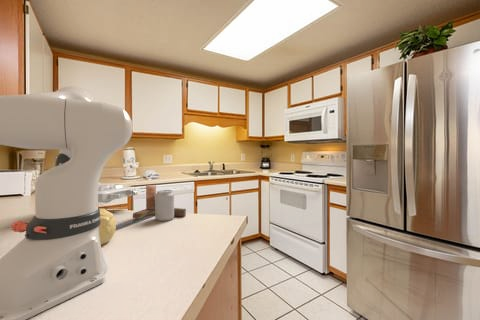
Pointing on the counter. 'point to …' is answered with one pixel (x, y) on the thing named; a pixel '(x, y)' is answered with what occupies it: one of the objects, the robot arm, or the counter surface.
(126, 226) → the rail
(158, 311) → the counter surface
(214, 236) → the counter surface
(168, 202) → the can
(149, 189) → the brown wooden stand
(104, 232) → the pale yellow rounded lump
